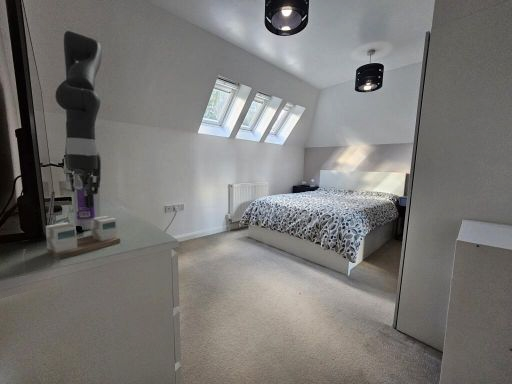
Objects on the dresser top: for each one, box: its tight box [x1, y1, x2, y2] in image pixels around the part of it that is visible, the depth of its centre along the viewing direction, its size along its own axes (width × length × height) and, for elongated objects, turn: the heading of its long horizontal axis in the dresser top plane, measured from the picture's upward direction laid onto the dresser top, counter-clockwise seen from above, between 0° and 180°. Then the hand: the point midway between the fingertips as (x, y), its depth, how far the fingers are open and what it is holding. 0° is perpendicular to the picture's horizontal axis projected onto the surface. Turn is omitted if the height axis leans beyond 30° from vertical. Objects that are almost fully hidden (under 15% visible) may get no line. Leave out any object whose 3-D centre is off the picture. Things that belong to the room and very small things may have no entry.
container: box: [73, 173, 95, 221], centre depth 70 cm, size 5×5×15 cm
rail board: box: [45, 215, 121, 260], centre depth 71 cm, size 9×17×8 cm, turn 152°
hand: (85, 205), depth 70 cm, fingers closed on container, 4 cm apart
